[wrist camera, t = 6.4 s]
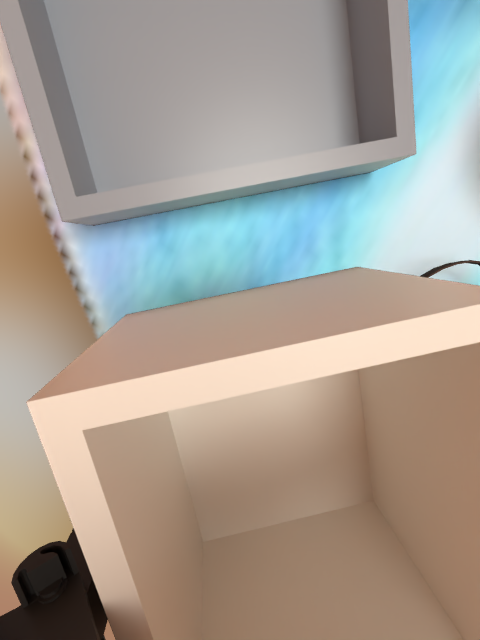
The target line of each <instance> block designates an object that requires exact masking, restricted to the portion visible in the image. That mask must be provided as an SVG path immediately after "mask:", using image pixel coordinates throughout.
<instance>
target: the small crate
mask: <svg viewBox="0 0 480 640" xmlns="http://www.w3.org/2000/svg"><path fill="white" fill-rule="evenodd" d="M26 403H27V405H28V408H29V410H30V413H31V416H32V419H33V421H34V424H35V427H36V429H37V432H38V435H39V437H40V440H41V443H42V445H43V448H44V450H45V453H46V456H47V458H48V461H49V464H50V467H51V469H52V472H53V474H54V477H55V480H56V482H57V485H58V488H59V490H60V493H61V496H62V498H63V501H64V504H65V506H66V509H67V512H68V514H69V517H70V519H71V522H72V525H73V527H74V530H75V533H76V536H77V538H78V541H79V544H80V546H81V549H82V552H83V554H84V557H85V560H86V562H87V565H88V568H89V570H90V573H91V575H92V578H93V581H94V583H95V586H96V589H97V591H98V594H99V597H100V599H101V602H102V605H103V607H104V610H105V613H106V615H107V618H108V621H109V623H110V626H111V628H112V631H113V634H114V637H115V639H116V640H480V286H478V285H471V284H465V283H459V282H452V281H446V280H439V279H433V278H426V277H420V276H413V275H407V274H400V273H394V272H387V271H381V270H374V269H368V268H361V267H354V268H349V269H344V270H340V271H335V272H330V273H325V274H320V275H315V276H311V277H306V278H301V279H296V280H291V281H286V282H282V283H277V284H272V285H267V286H262V287H257V288H252V289H248V290H243V291H238V292H233V293H228V294H223V295H219V296H214V297H209V298H204V299H199V300H194V301H190V302H185V303H180V304H175V305H170V306H165V307H161V308H156V309H151V310H146V311H141V312H136V313H132V314H127V315H125V316H124V317H123V318H122V319H121V320H120V321H118V322H117V323H116V324H115V325H114V326H113V327H112V328H110V329H109V330H108V331H107V332H106V333H105V334H104V335H102V336H101V337H100V338H99V339H98V340H97V341H96V342H94V343H93V344H92V345H91V346H90V347H89V348H88V349H86V350H85V351H84V352H83V353H82V354H81V355H80V356H79V357H78V358H76V359H75V360H74V361H73V362H72V363H70V364H69V365H68V366H67V367H66V368H65V369H64V370H63V371H61V372H60V373H59V374H58V375H57V376H56V377H54V378H53V379H52V380H51V381H50V382H49V383H48V384H46V385H45V386H44V387H43V388H42V389H41V390H40V391H39V392H37V393H36V394H35V395H34V396H33V397H32V398H31V399H29V400H28V401H27V402H26Z"/></svg>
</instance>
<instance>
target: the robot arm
mask: <svg viewBox="0 0 480 640" xmlns="http://www.w3.org/2000/svg"><path fill="white" fill-rule="evenodd" d="M12 585H13V587H14V590H15V592H16V594H17V596H18V599H19V601H20V603H21V606H19V607H17V608H16V609H14V610H12V611H10V612H8V613H6V614H4V615H2V616H0V640H106V639H105V637H104V631H105V627H106V623H107V620H108V618H107V615H106V613H105V610H104V607H103V605H102V602H101V599H100V597H99V594H98V591H97V589H96V586H95V583H94V581H93V578H92V575H91V573H90V570H89V568H88V565H87V562H86V560H85V557H84V554H83V552H82V549H81V546H80V544H79V541H78V538H77V536H76V533H75V530H74V528H73V530H72V533H71V534H70V536H69V538H68V540H67V542H61V541H57V542H52V543H48V544H46V545H44V546H42V547H40V548H38V549H37V550H35V551H34V552H33V553H31V554H30V555H29V556H28V557H27V558H26V559H25V560H24V561H23V562H22V563H21V564H20V565H19V566H18V568H17V570H16V571H15V573H14V574H13V578H12Z"/></svg>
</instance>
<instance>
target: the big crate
mask: <svg viewBox="0 0 480 640" xmlns="http://www.w3.org/2000/svg"><path fill="white" fill-rule="evenodd" d="M0 23H1V26H2V30H3V33H4V36H5V39H6V43H7V46H8V49H9V52H10V55H11V59H12V62H13V65H14V68H15V72H16V75H17V78H18V81H19V84H20V88H21V91H22V94H23V97H24V101H25V104H26V107H27V110H28V113H29V117H30V120H31V123H32V126H33V130H34V133H35V136H36V139H37V142H38V146H39V149H40V152H41V155H42V159H43V162H44V165H45V168H46V171H47V175H48V178H49V181H50V184H51V188H52V191H53V194H54V197H55V200H56V204H57V207H58V210H59V213H60V217H61V220H62V222H70V223H78V224H85V225H93V226H95V225H100V224H105V223H110V222H115V221H121V220H126V219H131V218H136V217H141V216H147V215H152V214H157V213H162V212H167V211H173V210H178V209H183V208H188V207H193V206H198V205H204V204H209V203H214V202H219V201H224V200H230V199H235V198H240V197H245V196H250V195H256V194H261V193H266V192H271V191H276V190H282V189H287V188H292V187H297V186H302V185H308V184H313V183H318V182H323V181H328V180H334V179H339V178H344V177H349V176H354V175H360V174H365V173H370V172H373V171H376V170H378V169H380V168H383V167H385V166H388V165H390V164H393V163H395V162H398V161H400V160H403V159H405V158H407V157H410V156H412V155H415V154H416V139H415V121H414V104H413V86H412V68H411V51H410V33H409V16H408V0H0Z"/></svg>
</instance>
